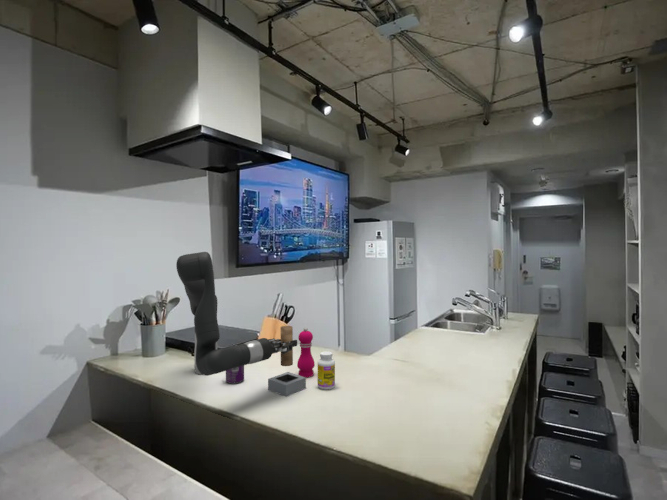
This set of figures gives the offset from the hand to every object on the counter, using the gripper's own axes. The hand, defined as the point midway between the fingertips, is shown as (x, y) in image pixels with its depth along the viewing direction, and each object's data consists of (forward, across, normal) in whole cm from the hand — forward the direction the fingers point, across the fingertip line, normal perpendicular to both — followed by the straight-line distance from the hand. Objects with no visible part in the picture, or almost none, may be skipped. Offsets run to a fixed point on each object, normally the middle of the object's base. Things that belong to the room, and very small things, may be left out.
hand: (291, 341), depth 139 cm
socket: (-2, 0, +17) cm, 17 cm away
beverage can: (-11, +22, +18) cm, 30 cm away
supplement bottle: (+9, -10, +18) cm, 22 cm away
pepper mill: (+13, +5, +17) cm, 22 cm away
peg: (-3, 0, +8) cm, 8 cm away
